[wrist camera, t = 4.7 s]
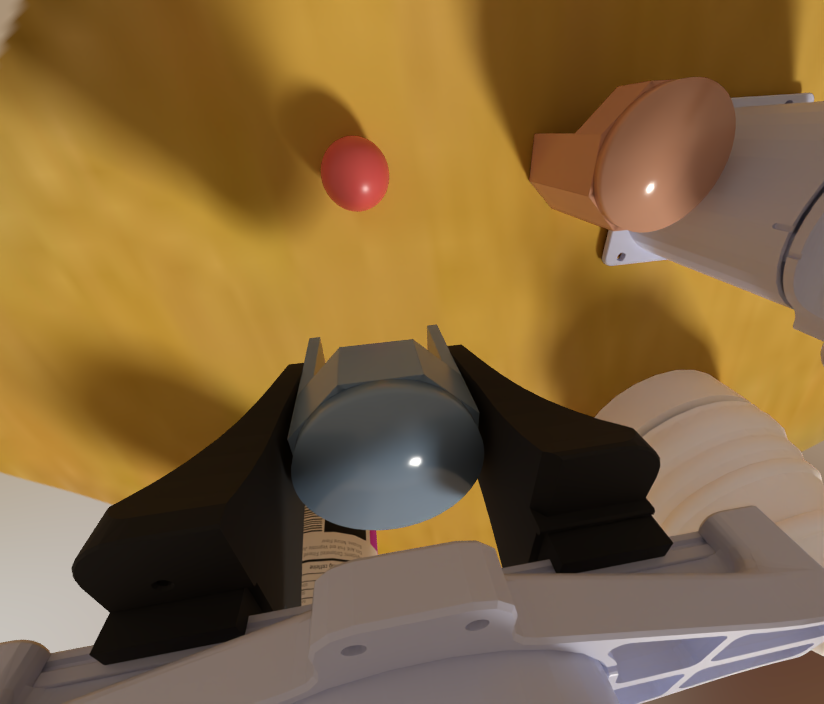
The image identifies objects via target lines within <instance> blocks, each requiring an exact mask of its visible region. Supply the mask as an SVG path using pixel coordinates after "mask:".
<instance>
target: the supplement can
mask: <svg viewBox="0 0 824 704" xmlns="http://www.w3.org/2000/svg"><path fill="white" fill-rule="evenodd" d="M375 555H378V552H377V537H376V530H361V529H353V528H349V527H344V526H341V525H337V524H334V523H332V522H329V521H327V520H325V519H323V518H321V517H320V516H318V515H316V514H315V513H314V512H312V511H311V510H310V509H308V507H307V506H306V505H305V513H304V531H303V554H302V593H301V606H304V605H309V604H312V600H313V591H314V584H315V581H316V580H317V579H318V578H319V577H320V576H321V575H323V574H324V573H325V572H326V571H328V570H329V569H330V568H331V567H332V566H335V565H338V564H341V563H344V562H347V561H350V560H353V559H358V558H364V557H369V556H375Z"/></svg>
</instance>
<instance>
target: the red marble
mask: <svg viewBox="0 0 824 704" xmlns="http://www.w3.org/2000/svg"><path fill="white" fill-rule="evenodd" d="M321 178H322V183H323V186H324V188H325V190H326V192H327V194H328V195H329V197H330V198H331V199H332V200H333V201H334V202H335V203H336V204H337V205H339V206H340V207H342V208H344V209H347V210H350V211H365V210H368V209H370V208H372V207H374V206H375V205H377V204H378V203H379V202H380V201H381V200H382V198H383V197H384V195H385V193H386V191H387V188H388V184H389V169H388V165H387V162H386V159H385V157H384V155H383V153H382V152H381V151H380V149H379V148H378V147H377V146H376V145H375V144H374V143H373V142H371V141H369V140H368V139H366V138H363V137H360V136H345V137H342V138H340V139H338V140H336V141H335V142H333V143H332V144H331V145H330V146H329V148H328V149H327V150H326V152H325V154H324V156H323V159H322V163H321Z"/></svg>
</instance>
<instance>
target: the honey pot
mask: <svg viewBox="0 0 824 704" xmlns="http://www.w3.org/2000/svg"><path fill="white" fill-rule="evenodd" d="M595 418H597V419H600V420H604V421H608V422H612V423H616V424H620V425H624V426H627V427H631V428H633V429H634V430H635V431H637V432H638V433H639V435H640V436H641V437H642V438H643V439H644V440H645V441H646V442H647V443H648V444H649V445H650V446H651V447H652V448H653V449H654V450H655V451H656V452H657V454H658V456H659V457H660V469H659V472H658V475H657V477H656V479H655V481H654V483H653V485H652V487H651V489H650V491H649V493H648V495H647V496H646V498H647V500H648V501H649V502H650V503H651V505H652V506H653V507H654V509H655V513H654V515H652V516H653V518H654V519H655V520H656V522H657V523H658V524H659V525H660V527H661V528H662V529H663V530H664V532H665V533H666V534H667V535H668V537H670V536H675V535H680V534H686V533H691V532H696V531H698V530H699V527H700V525H701V523H702V522H703V520H704V519H705V518H707V517H708V516H709V515H711V514H713V513H715V512H718V511H723V510H728V509H734V508H739V507H745V506H750V505H752V506H756V507H757V508H758V509H759V510H761V511H762V512H763V513H764V514H765V515H766V516H767V517H768V518H769V519H770V520H771V521H773V522H774V523H775V524H776V525H777V526H778V527H779V528H780V529H781V530H782V531H783V532H785V533H786V534H787V535H788V536H789V537H790V538H791V539H792V540H793V541H794V542H795V543H797V544H798V545H799V546H800V547H801V548H802V549H803V550H804V551H805V552H806V553H807V554H809V555H810V556H811V557H812V558H813V559H814V560H815V561H816V562H817V563H818V564H819V565H821V566H822V567H823V568H824V484H823V482H822V478H821V474H820V472H819V471H818V470H817V469H816V468H814V467H813V466H812V465H811V464H810V463H808V462H806V461H805V460H804V458H803V455H802V452H801V451H800V450H799V449H798V448H797V447H796V446H795V445H793V444H792V443H791V442H790V441H789V440H788V439H787V436H786V433H785V430H784V428H783V427H782V426H781V425H780V424H779V423H778V422H777V421H775V420H774V419H773V418H772V417H771V416H770V415H769V414H767V413H765V412H763V411H761V410H760V409H759V408H758V407H756V406H755V405H754V404H751V403H750V402H749V401H748V400H746V399H745V398H744V397H742V396H741V395H739V394H738V393H736V392H735V391H733V390H732V389H730V388H729V387H727V386H726V385H724V384H723V383H721V382H720V381H718V380H717V379H715V378H714V377H712V376H711V375H709V374H707V373H704V372H700V371H697V370H674V371H670V372H666V373H662V374H658V375H655V376H652V377H650V378H648V379H646V380H643V381H641V382H639V383H636V384H634V385H633V386H631V387H630V388H628V389H627V390H625V391H624V392H622V393H620V394H619V395H617V396H616V397H615V398H614V399H612V400H611V401H610V402H609V403H608V404H607V405H606V406H605V407H603V408H602V409H601V410H600V411H599V413H598V414H597V415H596V416H595ZM812 651H815V652H817V653H818V654H820V655H822V656H824V642H822V643H821V644H819V645H818V646H816V647H815V648H813V649H812Z"/></svg>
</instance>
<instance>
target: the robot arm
mask: <svg viewBox="0 0 824 704" xmlns="http://www.w3.org/2000/svg"><path fill="white" fill-rule="evenodd" d="M731 100H732V102H733V106H734V109H735V117H736V129H735V137H734V142H733V146H732V150H731V153H730V156H729V159H728V161H727V163H726V165H725V168H724V170H723V171H722V173H721V175H720V177H719V179H718V180H717V182H716V183H715V185H714V186H713V188H712V189H711V190H710V192H709V193H708V194H707V196H706V197H705V198H704V199H703V200H702V201H701V202H700V203H699V204H698V205H697V206H696V207H695V208H694V209H693V210H692V211H691V212H689V213H688V214H687V215H686V216H684V217H683V218H681V219H680V220H679V221H677V222H675V223H673V224H672V225H670V226H667V227H665V228H663V229H660V230H656V231H652V232H644V233H638V232H632V231H629V230H622V231H611V230H609V231H608V235H607V239H606V243H605V247H604V251H603V255H602V261H603V263H604V264H606V265H608V266H614V265H623V264H632V263H641V262H650V261H659V260H670V261H673V262H675V263H678V264H680V265H683V266H685V267H688V268H691V269H693V270H696V271H698V272H701V273H703V274H706V275H708V276H711V277H713V278H716V279H718V280H721V281H723V282H726V283H728V284H731V285H733V286H736V287H738V288H741V289H743V290H746V291H748V292H751V293H753V294H756V295H759V296H761V297H764V298H766V299H769V300H771V301H774V302H776V303H779V304H781V305H784V306H786V307H789V308H791V309H794V310H795V321H794V324H793V328H794V329H797V330H799V331H801V332H803V333H806V334H808V335H810V336H813V337H815V338H817V339H819V340H822V341H824V101H821V102H814V95H813V94H812V93H799V94H784V95H768V96H752V97H736V98H731ZM620 253H621V256H620V257H619V258H618V259H617V257H618V255H619V254H620ZM447 347H448V349H449V351H450V353H451V355H452V357H453V359H454V361H455V363H456V365H457V367H458V369H459V371H460V373H461V376H462V378H463V380H464V382H465V384H466V386H467V388H468V390H469V392H470V394H471V396H472V398H473V400H474V402H475V404H476V406H477V409H478V411H479V424H478V430H479V432H480V434H481V437H482V440H483V444H484V461H483V466H482V469H481V472H480V474H479V476H478V481H479V484H480V487H481V491H482V494H483V497H484V501H485V504H486V508H487V511H488V515H489V518H490V522H491V526H492V529H493V533H494V537H495V540H496V544H497V548H498V552H499V556H500V560H501V564H502V568H501V565H500V563H499V560H498V557H497V554H496V551H495V549H494V548H492V547H490V546H488V545H485V544H483V543H481V542H478V541H454V542H448V543H442V544H437V545H431V546H426V547H420V548H414V549H409V550H403V551H397V552H392V553H386V554H381V555H375V556H369V557H364V558H358V559H353V560H350V561H347V562H344V563H341V564H338V565H335V566H332V567H331V568H330V569H329V570H328V571H326V572H325V573H324V574H323V575H321V576H320V577H319V578H318V579H317V580H316V581H315V584H314V591H313V600H312V604H309V605H304V606H301V593H302V554H303V531H304V513H305V504H304V503H303V502H302V501H301V500H300V498H299V497H298V495H297V493H296V491H295V489H294V487H293V483H292V478H291V465H292V459H293V455H292V452H291V448H290V445H289V442H288V440H287V439H288V434H289V430H290V425H291V420H292V416H293V411H294V407H295V402H296V398H297V393H298V389H299V384H300V379H301V375H302V371H303V366H304V363H298V364H290V365H288V366H287V367H286V369H285V370H284V371H283V372H282V373H281V375H280V376H279V377H278V378H277V379H276V381H275V382H274V383H273V384H272V385H271V387H270V388H269V389H268V390H267V391H266V392H265V394H264V395H263V396H262V397H261V398H260V399H259V400H258V401H257V403H256V404H255V405H254V406H253V407H252V408H251V409H250V410H249V411H248V412H247V413H246V414H245V415H244V416H243V417H242V418H241V419H240V420H239V421H238V422H237V423H236V424H234V425H233V426H232V427H231V428H230V429H229V430H228V431H226V432H225V433H224V434H223V435H222V436H221V437H219V438H218V439H217V440H216V441H214V442H213V443H212V444H210V445H209V446H208V447H206V448H205V449H204V450H202V451H201V452H200V453H198V454H197V455H196V456H194V457H193V458H191V459H190V460H189V461H187V462H186V463H184V464H183V465H181V466H180V467H178V468H177V469H175V470H173V471H172V472H170V473H169V474H167V475H165V476H164V477H162V478H161V479H159V480H157V481H156V482H154V483H152V484H151V485H149V486H147V487H145V488H143V489H142V490H140V491H138V492H136V493H134V494H132V495H131V496H129V497H127V498H125V499H123V500H122V501H120V502H118V503H116V504H114V505H112V506H110V507H109V508H108V509H107V511H106V512H105V514H104V516H103V517H102V518H101V520H100V521H99V523H98V525H97V526H96V528H95V529H94V531H93V533H92V534H91V535H90V537H89V539H88V540H87V542H86V543H85V545H84V546H83V548H82V549H81V551H80V552H79V554H78V556H77V557H76V559H75V561H74V563H73V566H72V573H73V577H74V579H75V581H76V582H77V583H78V585H79V586H80V587H81V588H82V589H83V590H84V591H85V592H87V593H88V594H89V595H90V596H91V597H92V598H94V599H95V600H96V601H97V602H98V603H99V604H101V605H102V606H103V607H104V608H105V609H106V610H108V611H109V612H110V614H109V616H108V618H107V620H106V622H105V624H104V626H103V628H102V630H101V632H100V634H99V636H98V638H97V640H96V642H95V644H94V645H92V646H87V647H82V648H76V649H72V650H66V651H61V652H56V653H50V652H49V650H48V649H47V648H46V647H44V646H43V645H41V644H40V643H37V642H34V641H30V640H14V641H8V642H3V643H0V704H641V703H644V702H647V701H651V700H654V699H657V698H660V697H663V696H666V695H669V694H672V693H676V692H679V691H682V690H685V689H688V688H691V687H694V686H697V685H701V684H704V683H707V682H710V681H713V680H717V679H720V678H723V677H726V676H729V675H733V674H736V673H740V672H743V671H747V670H751V669H754V668H758V667H761V666H765V665H768V664H772V663H776V662H780V661H784V660H788V659H792V658H796V657H800V656H802V655H804V654H805V653H807V652H809V651H810V650H812V649H813V648H815V647H816V646H818V645H819V644H821V643H822V642H824V568H823V567H822V566H821V565H819V564H818V563H817V562H816V561H815V560H814V559H813V558H812V557H811V556H810V555H809V554H807V553H806V552H805V551H804V550H803V549H802V548H801V547H800V546H799V545H798V544H797V543H795V542H794V541H793V540H792V539H791V538H790V537H789V536H788V535H787V534H786V533H785V532H783V531H782V530H781V529H780V528H779V527H778V526H777V525H776V524H775V523H774V522H773V521H771V520H770V519H769V518H768V517H767V516H766V515H765V514H764V513H763V512H762V511H761V510H759V509H758V508H757V507H756V506H752V505H750V506H745V507H739V508H734V509H728V510H723V511H718V512H715V513H713V514H711V515H709V516H708V517H707V518H705V519H704V520H703V522H702V523H701V525H700V527H699V530H698V531H696V532H691V533H686V534H680V535H675V536H670V537H668V535H667V534H666V533H665V532H664V530H663V529H662V528H661V527H660V525H659V524H658V523H657V522H656V520H655V519H654V518H653V516H652V515H654V513H655V509H654V507H653V506H652V505H651V503H650V502H649V501H648V500H647V498H646V496H647V495H648V493H649V491H650V489H651V487H652V485H653V483H654V481H655V479H656V477H657V475H658V472H659V469H660V457H659V456H658V454H657V452H656V451H655V450H654V449H653V448H652V447H651V446H650V445H649V444H648V443H647V442H646V441H645V440H644V439H643V438H642V437H641V436H640V435H639V433H638V432H637V431H635V430H634V429H633V428H631V427H627V426H624V425H620V424H616V423H612V422H608V421H604V420H600V419H597V418H594V417H591V416H588V415H585V414H582V413H579V412H576V411H573V410H570V409H568V408H565V407H563V406H560V405H558V404H555V403H553V402H551V401H548V400H546V399H544V398H542V397H540V396H538V395H536V394H534V393H532V392H530V391H528V390H526V389H524V388H522V387H521V386H519V385H517V384H515V383H514V382H512V381H511V380H509V379H508V378H506V377H504V376H503V375H501V374H500V373H498V372H497V371H496V370H494V369H493V368H491V367H490V366H489V365H487V364H486V363H485V362H483V361H482V360H481V359H479V358H478V357H477V356H475V355H474V354H473V353H472V352H470V351H469V350H468V349H466V348H465V347H464V346H462V345H453V346H447ZM821 361H822V364H823V366H824V343H823V345H822V349H821Z"/></svg>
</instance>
